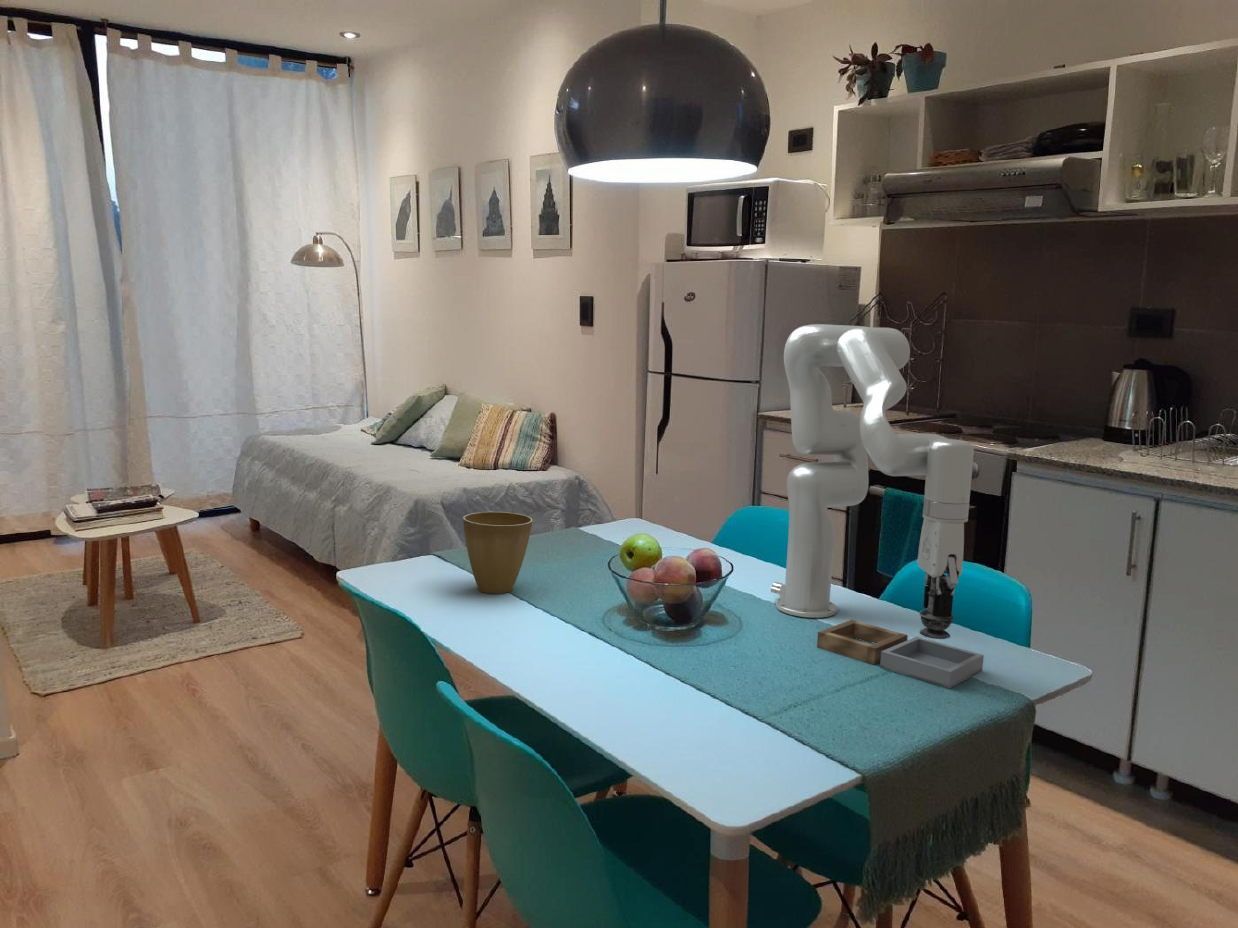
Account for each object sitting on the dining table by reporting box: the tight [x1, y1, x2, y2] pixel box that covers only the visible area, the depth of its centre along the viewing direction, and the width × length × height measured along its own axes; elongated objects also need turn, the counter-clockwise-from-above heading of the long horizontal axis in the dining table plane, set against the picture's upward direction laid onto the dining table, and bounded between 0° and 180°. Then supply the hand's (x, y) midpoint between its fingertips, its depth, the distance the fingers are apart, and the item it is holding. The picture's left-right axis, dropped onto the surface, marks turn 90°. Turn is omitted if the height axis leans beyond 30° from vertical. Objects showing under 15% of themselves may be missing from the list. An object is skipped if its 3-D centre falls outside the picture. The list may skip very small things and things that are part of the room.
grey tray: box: [879, 636, 985, 689], centre depth 174 cm, size 13×13×3 cm
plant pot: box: [462, 511, 533, 595], centre depth 212 cm, size 15×15×16 cm
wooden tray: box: [816, 619, 909, 665], centre depth 184 cm, size 12×12×3 cm
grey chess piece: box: [918, 573, 955, 640], centre depth 172 cm, size 6×6×12 cm
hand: (936, 611), depth 173 cm, fingers closed on grey chess piece, 4 cm apart
